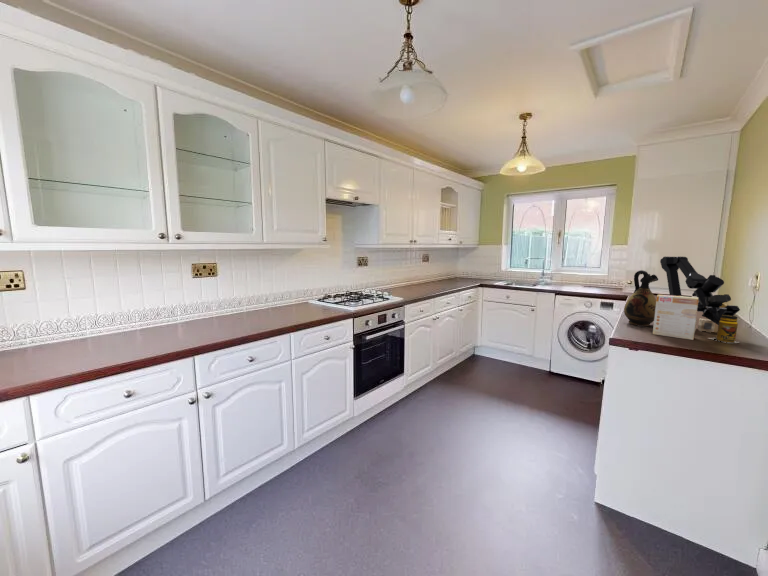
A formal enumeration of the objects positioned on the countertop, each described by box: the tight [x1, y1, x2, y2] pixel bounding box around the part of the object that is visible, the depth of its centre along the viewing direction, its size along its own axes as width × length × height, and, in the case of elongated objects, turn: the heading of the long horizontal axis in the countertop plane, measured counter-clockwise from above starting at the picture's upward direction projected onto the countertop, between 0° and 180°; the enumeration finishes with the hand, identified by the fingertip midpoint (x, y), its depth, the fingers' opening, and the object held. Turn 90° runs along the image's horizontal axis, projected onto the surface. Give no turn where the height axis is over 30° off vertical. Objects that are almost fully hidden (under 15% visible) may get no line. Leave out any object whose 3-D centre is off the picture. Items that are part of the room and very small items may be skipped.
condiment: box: [707, 315, 740, 344], centre depth 154 cm, size 7×8×12 cm
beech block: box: [697, 318, 716, 333], centre depth 173 cm, size 5×5×6 cm
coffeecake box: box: [652, 294, 699, 341], centre depth 161 cm, size 15×7×20 cm, turn 47°
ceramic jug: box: [623, 269, 659, 327], centre depth 186 cm, size 17×15×30 cm
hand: (720, 324), depth 156 cm, fingers closed
